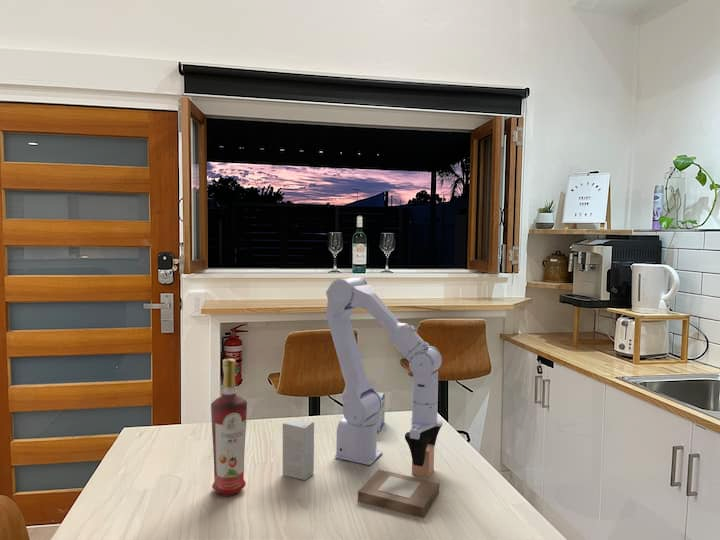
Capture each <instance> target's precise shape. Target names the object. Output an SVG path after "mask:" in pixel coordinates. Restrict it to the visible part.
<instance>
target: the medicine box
mask: <svg viewBox="0 0 720 540" xmlns="http://www.w3.org/2000/svg"><path fill="white" fill-rule="evenodd" d="M376 392H377V391H376ZM377 393H378V394H379V395H380V397H381V400H382V407H381V409H380V411H379V412H378V413H377V432H380V431H381V430H382V427H383V426H384V423H385V414H386V413H385V408H386V407H385V403H386V399H385V398H386V396H385V395H386V394H385V392H377Z"/></svg>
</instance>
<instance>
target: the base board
mask: <svg viewBox="0 0 720 540" xmlns="http://www.w3.org/2000/svg"><path fill="white" fill-rule="evenodd" d="M439 493H440V482H436V481H431V480H427V479H422V478H418V477H413V476H409V475H407V474H401V473H395V472H392V471H388V470H383V469H378V470H377V471H376V472H375V473H374V474H373V475H372V476H370V478H369V479H368V480H367V481H366V482H365V483H364V485H362V487H361V488H360V489H359V490H358V491H357V501H358V502H361V503H366V504H369V505H373V506H377V507H381V508H384V507H385V509H388V510H393V511H396V512H400V513H405V514H408V515H411V516H416V517H418V518H419V517H420V518H424V517H425V515H426V514H427V512H428V510H429V509H430V507H431V506H432V504H433V503H434V501H435V500H436V498H437V496H438V495H439Z"/></svg>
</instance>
